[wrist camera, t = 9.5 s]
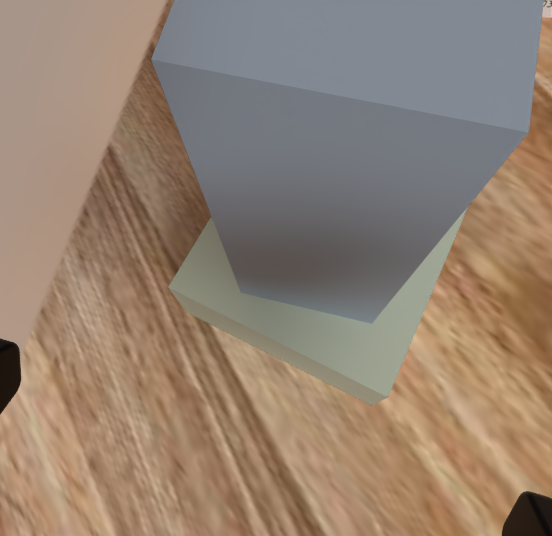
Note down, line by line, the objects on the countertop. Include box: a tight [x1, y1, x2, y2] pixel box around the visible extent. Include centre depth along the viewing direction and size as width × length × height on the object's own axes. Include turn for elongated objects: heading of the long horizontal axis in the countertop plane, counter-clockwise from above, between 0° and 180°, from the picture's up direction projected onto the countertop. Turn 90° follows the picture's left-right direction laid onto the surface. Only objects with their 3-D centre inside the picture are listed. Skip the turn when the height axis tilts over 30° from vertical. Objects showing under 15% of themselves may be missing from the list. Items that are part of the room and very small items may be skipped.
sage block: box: [168, 207, 468, 406], centre depth 21 cm, size 9×9×4 cm
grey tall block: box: [151, 0, 544, 324], centre depth 13 cm, size 5×5×12 cm
